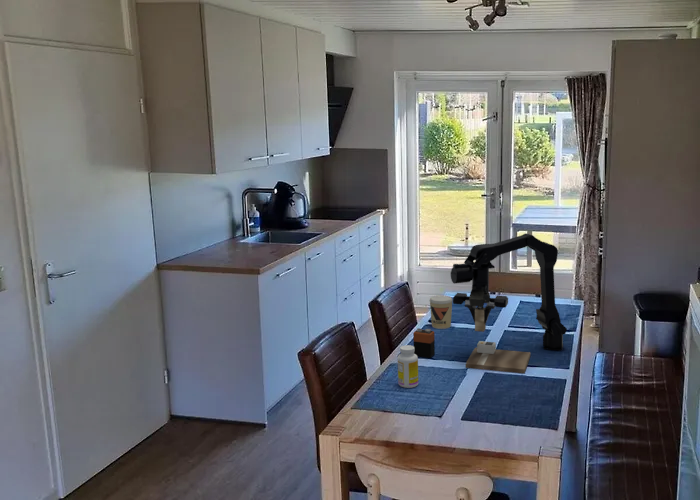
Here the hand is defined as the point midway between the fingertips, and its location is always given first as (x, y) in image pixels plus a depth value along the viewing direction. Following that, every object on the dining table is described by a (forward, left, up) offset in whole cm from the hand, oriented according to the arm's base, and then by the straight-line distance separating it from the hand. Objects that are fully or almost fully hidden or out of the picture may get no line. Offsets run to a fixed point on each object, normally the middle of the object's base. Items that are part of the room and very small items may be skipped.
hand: (480, 323), depth 252 cm
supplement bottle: (+18, +32, -13) cm, 39 cm away
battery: (+20, +4, -13) cm, 24 cm away
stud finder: (-2, -1, -11) cm, 11 cm away
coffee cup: (+22, -31, -13) cm, 40 cm away
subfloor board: (-7, +4, -13) cm, 15 cm away
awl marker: (0, 0, -3) cm, 2 cm away
